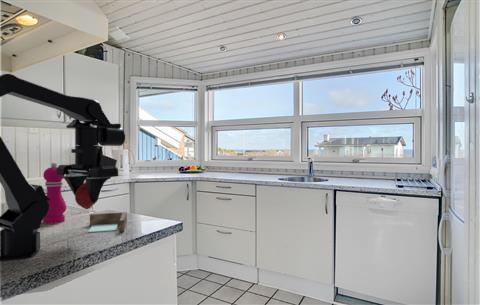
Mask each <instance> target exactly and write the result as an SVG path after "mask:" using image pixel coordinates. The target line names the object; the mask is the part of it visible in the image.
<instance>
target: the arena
mask: <svg viewBox="0 0 480 305" xmlns="http://www.w3.org/2000/svg"><path fill="white" fill-rule="evenodd" d="M127 214H128V212H127V211H119V212H117V211H116V212H101V213H99V212H98V213H89V226H92V225H103V224H118V225H119V233H124V232H125V229H126V226H127V222H128V217H127V216H128V215H127Z"/></svg>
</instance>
